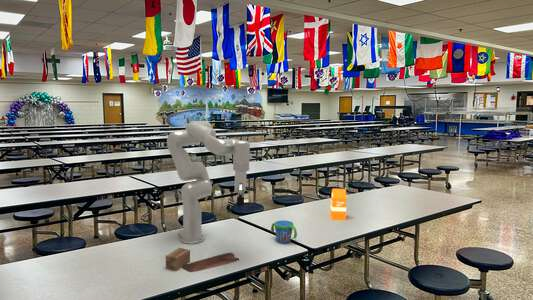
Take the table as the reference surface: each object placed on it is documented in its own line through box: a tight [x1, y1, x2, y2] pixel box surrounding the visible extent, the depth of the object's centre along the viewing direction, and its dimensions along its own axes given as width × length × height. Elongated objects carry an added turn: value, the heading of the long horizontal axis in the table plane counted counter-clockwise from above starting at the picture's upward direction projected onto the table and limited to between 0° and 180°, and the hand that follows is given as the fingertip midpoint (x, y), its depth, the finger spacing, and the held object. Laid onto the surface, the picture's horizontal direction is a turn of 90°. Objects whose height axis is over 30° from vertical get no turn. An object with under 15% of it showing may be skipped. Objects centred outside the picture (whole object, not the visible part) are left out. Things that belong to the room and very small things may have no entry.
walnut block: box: [165, 247, 191, 272], centre depth 163 cm, size 6×10×6 cm, turn 157°
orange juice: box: [329, 188, 347, 221], centre depth 236 cm, size 8×9×20 cm
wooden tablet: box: [181, 252, 240, 273], centre depth 167 cm, size 26×2×10 cm
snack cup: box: [270, 219, 298, 244], centre depth 194 cm, size 16×10×10 cm
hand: (240, 202), depth 171 cm, fingers open, 9 cm apart
